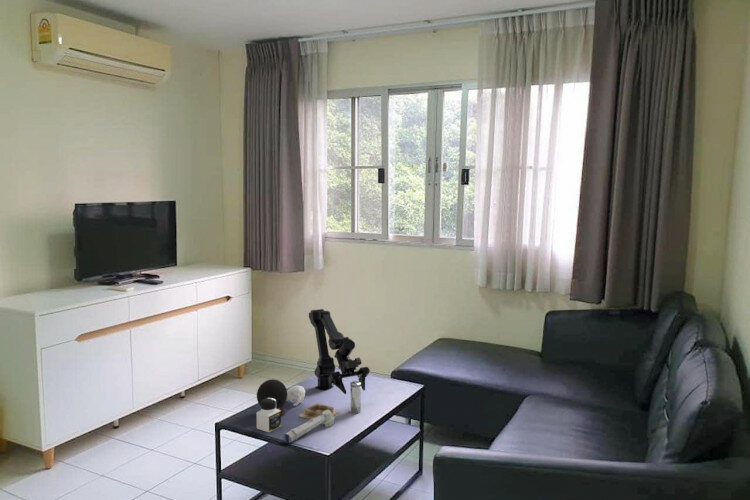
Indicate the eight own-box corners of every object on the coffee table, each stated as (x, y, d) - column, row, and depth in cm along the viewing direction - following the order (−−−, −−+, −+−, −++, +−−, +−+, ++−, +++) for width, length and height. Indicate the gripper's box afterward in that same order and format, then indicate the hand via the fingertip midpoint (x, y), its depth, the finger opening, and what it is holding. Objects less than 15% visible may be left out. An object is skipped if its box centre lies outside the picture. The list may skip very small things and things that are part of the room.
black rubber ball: (293, 412, 238) (293, 379, 236) (271, 422, 227) (270, 387, 226) (273, 405, 246) (272, 373, 244) (250, 414, 235) (250, 381, 234)
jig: (299, 416, 233) (299, 410, 233) (316, 407, 243) (316, 401, 243) (321, 423, 227) (321, 416, 227) (338, 413, 237) (338, 407, 237)
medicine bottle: (269, 433, 217) (268, 404, 216) (256, 428, 221) (255, 400, 220) (281, 426, 223) (281, 398, 222) (268, 422, 227) (268, 395, 226)
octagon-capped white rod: (281, 432, 210) (327, 404, 228) (283, 447, 211) (328, 419, 229) (290, 435, 206) (335, 408, 225) (292, 451, 208) (337, 422, 226)
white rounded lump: (298, 388, 243) (276, 386, 248) (300, 407, 243) (278, 405, 248) (306, 384, 248) (284, 382, 253) (307, 402, 249) (286, 400, 254)
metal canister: (348, 412, 238) (348, 383, 237) (354, 408, 242) (354, 380, 241) (356, 414, 236) (357, 385, 235) (363, 410, 240) (363, 382, 239)
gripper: (330, 354, 237) (341, 387, 229) (368, 349, 246) (380, 379, 238) (323, 367, 245) (333, 399, 236) (360, 361, 254) (371, 391, 245)
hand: (355, 392), depth 239 cm, fingers open, 9 cm apart
